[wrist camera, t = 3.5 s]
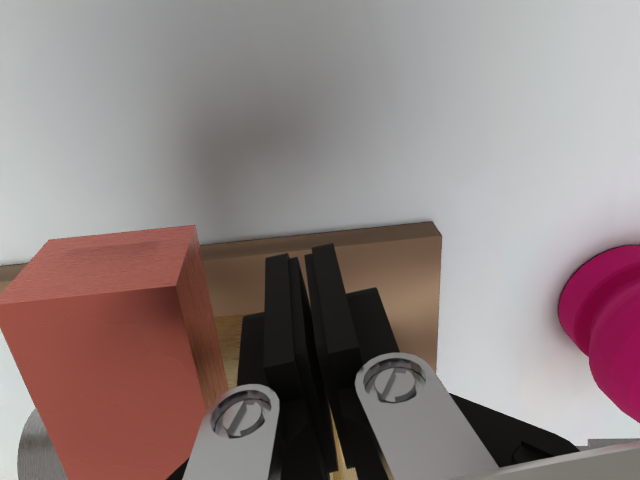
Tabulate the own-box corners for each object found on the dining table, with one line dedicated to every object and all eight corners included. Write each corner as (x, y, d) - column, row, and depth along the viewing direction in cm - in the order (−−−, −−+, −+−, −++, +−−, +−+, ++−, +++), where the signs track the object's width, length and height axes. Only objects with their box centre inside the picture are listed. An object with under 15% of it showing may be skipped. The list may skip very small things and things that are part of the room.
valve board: (-3, 266, 23) (-20, 283, 21) (432, 221, 24) (442, 235, 22) (80, 463, 28) (71, 486, 27) (425, 421, 29) (432, 442, 28)
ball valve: (50, 335, 23) (-92, 558, 14) (397, 296, 23) (475, 485, 15) (93, 443, 26) (-1, 681, 17) (397, 407, 27) (461, 616, 18)
